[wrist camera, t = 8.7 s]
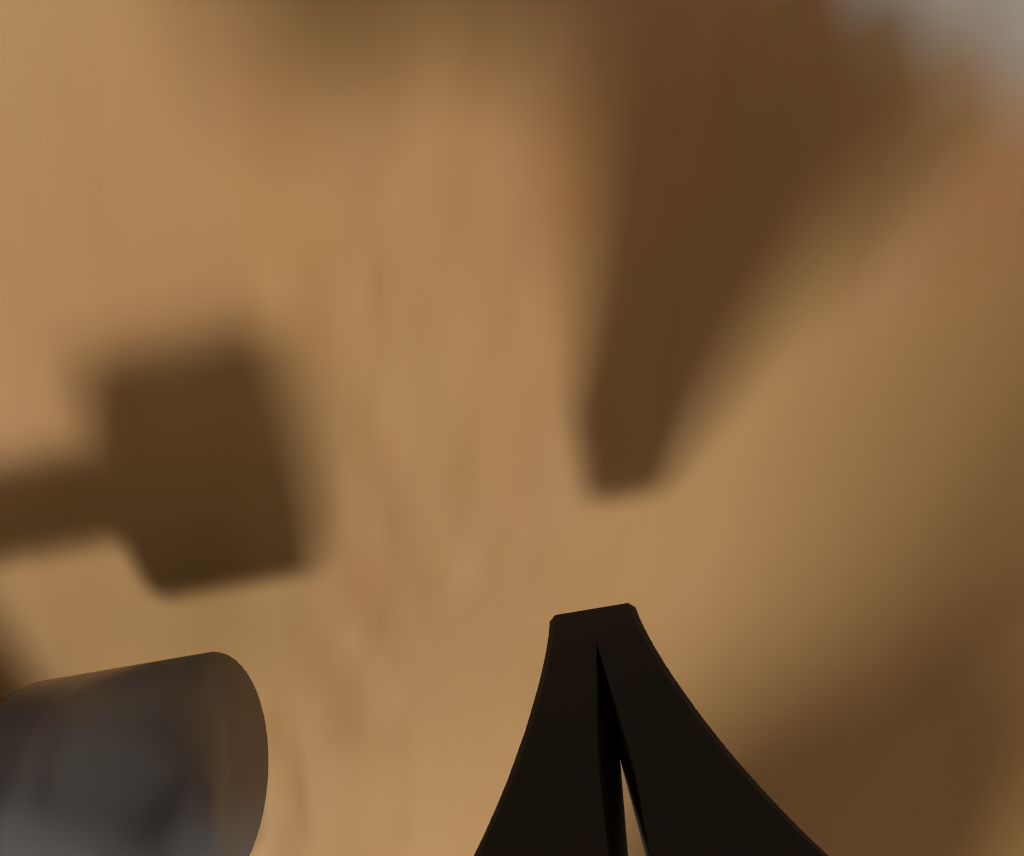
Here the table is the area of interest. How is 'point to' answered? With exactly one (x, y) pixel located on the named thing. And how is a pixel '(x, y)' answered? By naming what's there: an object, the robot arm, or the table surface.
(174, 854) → the knob
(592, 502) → the table surface
